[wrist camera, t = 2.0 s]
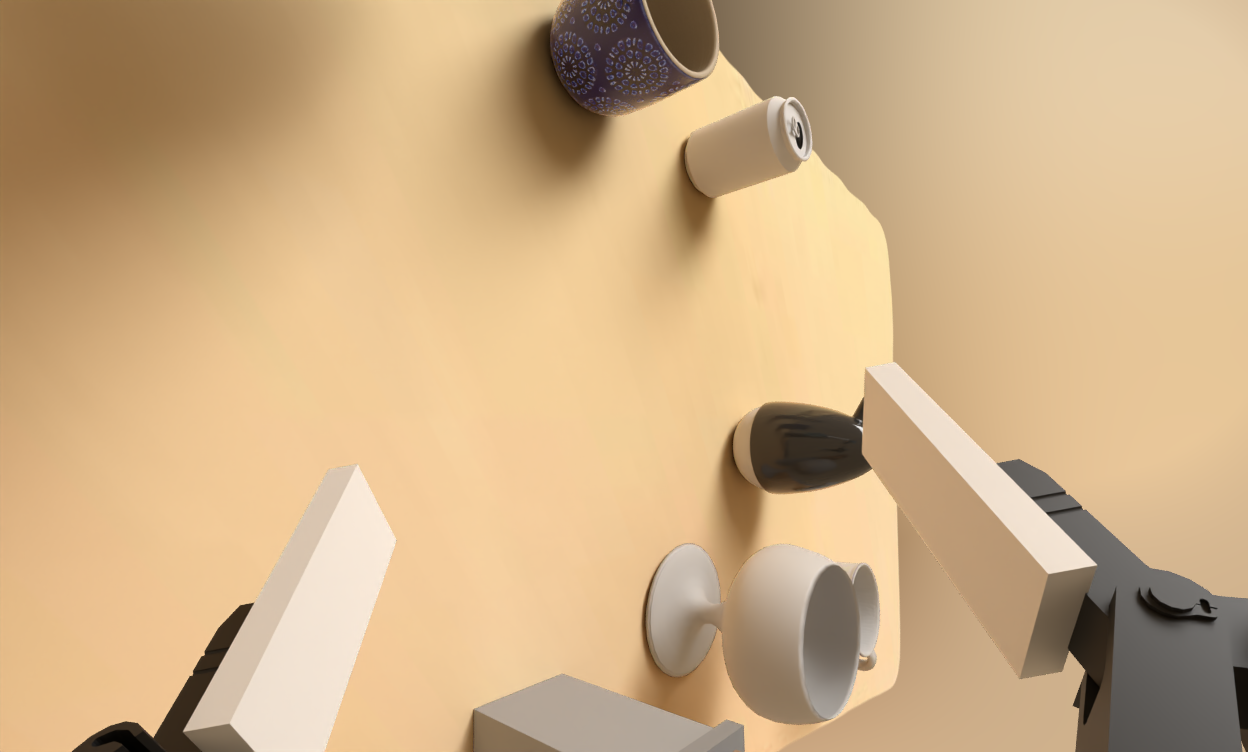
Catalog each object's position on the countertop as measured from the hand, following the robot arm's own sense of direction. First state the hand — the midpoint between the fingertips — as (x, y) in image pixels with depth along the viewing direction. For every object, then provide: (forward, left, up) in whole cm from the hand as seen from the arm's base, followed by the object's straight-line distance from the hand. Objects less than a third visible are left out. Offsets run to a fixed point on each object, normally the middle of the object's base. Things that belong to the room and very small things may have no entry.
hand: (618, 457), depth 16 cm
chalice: (-12, +38, -25) cm, 47 cm away
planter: (-41, -4, -25) cm, 48 cm away
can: (-51, +12, -25) cm, 58 cm away
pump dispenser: (-32, +38, -25) cm, 56 cm away
